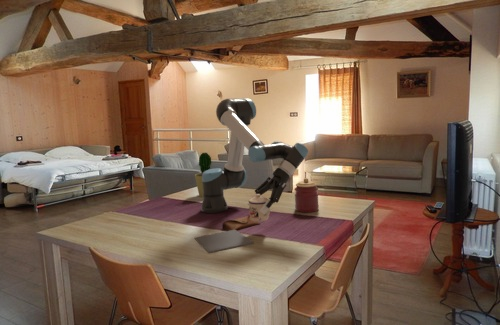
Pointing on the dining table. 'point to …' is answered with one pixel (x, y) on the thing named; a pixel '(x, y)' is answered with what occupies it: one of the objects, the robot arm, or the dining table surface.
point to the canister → (306, 196)
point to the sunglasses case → (239, 223)
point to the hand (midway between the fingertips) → (255, 209)
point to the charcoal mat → (223, 241)
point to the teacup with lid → (258, 208)
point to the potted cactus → (204, 165)
